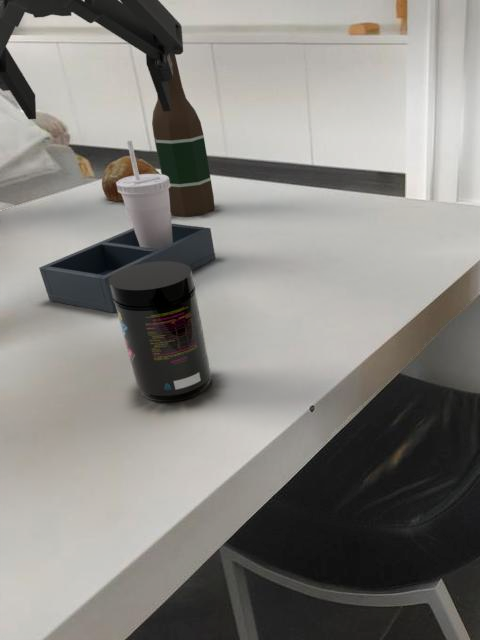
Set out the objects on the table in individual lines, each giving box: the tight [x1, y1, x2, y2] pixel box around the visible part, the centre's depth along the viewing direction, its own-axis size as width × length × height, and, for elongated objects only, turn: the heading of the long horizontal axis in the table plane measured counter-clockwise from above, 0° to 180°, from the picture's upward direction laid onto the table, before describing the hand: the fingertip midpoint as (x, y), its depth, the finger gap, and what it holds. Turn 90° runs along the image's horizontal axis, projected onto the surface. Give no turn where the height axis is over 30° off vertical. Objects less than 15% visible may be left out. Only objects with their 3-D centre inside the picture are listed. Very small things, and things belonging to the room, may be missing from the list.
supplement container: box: [109, 261, 212, 403], centre depth 60 cm, size 7×7×10 cm
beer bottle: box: [151, 53, 216, 218], centre depth 104 cm, size 8×8×24 cm
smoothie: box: [116, 140, 173, 249], centre depth 85 cm, size 6×6×14 cm
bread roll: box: [101, 155, 161, 203], centre depth 119 cm, size 10×10×8 cm
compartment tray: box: [38, 223, 216, 313], centre depth 85 cm, size 10×19×4 cm, turn 154°
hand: (99, 103), depth 70 cm, fingers open, 13 cm apart
